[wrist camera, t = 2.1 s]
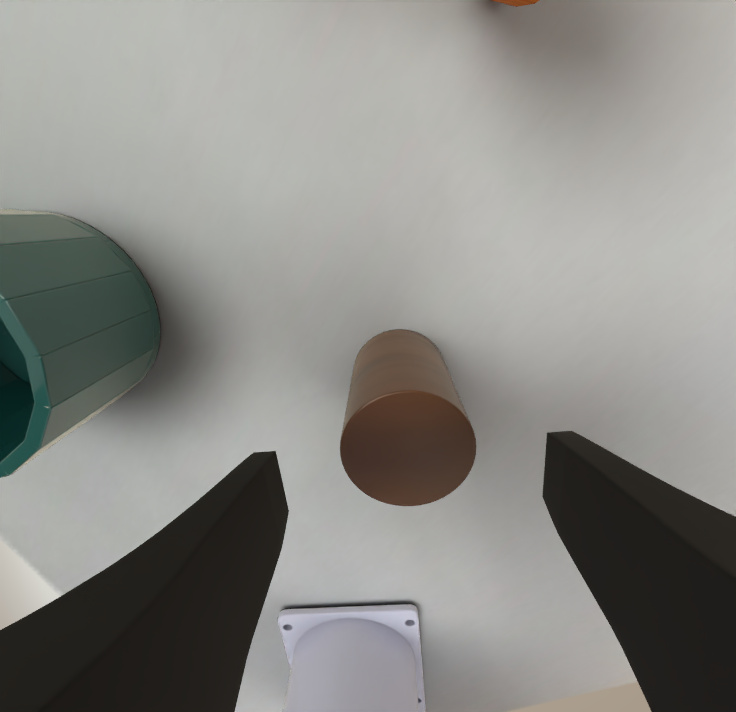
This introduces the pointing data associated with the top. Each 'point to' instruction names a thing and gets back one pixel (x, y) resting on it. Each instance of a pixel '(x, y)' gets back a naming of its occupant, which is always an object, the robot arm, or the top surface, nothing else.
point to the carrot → (517, 2)
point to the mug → (65, 330)
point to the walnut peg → (405, 423)
